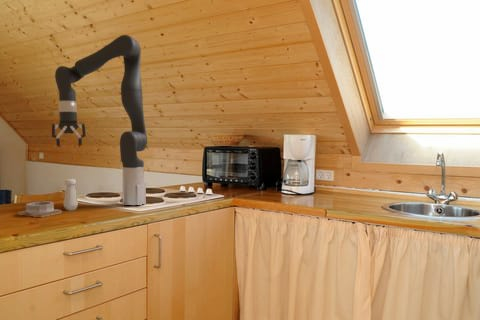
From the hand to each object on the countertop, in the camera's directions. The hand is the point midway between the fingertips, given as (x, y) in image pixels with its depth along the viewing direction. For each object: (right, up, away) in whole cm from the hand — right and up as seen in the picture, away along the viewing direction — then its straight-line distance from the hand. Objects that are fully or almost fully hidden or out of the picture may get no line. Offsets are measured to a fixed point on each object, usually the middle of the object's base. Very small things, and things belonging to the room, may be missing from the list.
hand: (69, 146), depth 184 cm
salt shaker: (+7, -27, -15) cm, 32 cm away
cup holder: (-1, -28, -24) cm, 37 cm away
